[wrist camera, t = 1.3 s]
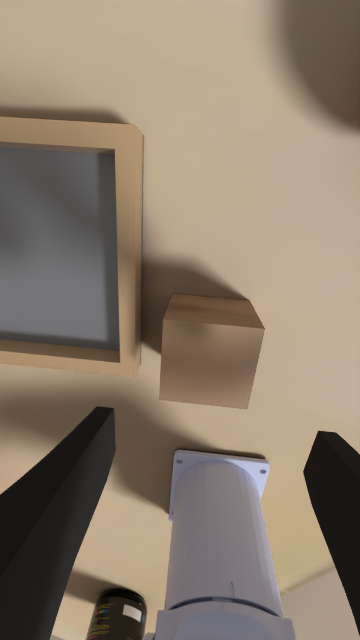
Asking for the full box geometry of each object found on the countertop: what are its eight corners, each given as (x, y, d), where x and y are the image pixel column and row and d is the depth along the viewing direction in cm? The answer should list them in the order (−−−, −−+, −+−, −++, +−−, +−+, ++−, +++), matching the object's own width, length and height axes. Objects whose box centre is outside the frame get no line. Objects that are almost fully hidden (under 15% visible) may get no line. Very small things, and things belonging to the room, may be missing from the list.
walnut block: (237, 365, 19) (247, 409, 15) (168, 358, 19) (159, 399, 15) (249, 299, 17) (264, 329, 13) (172, 292, 17) (163, 319, 13)
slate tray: (141, 362, 19) (133, 380, 17) (-42, 344, 20) (-69, 359, 18) (143, 135, 14) (133, 121, 12) (-109, 119, 14) (-160, 104, 12)
